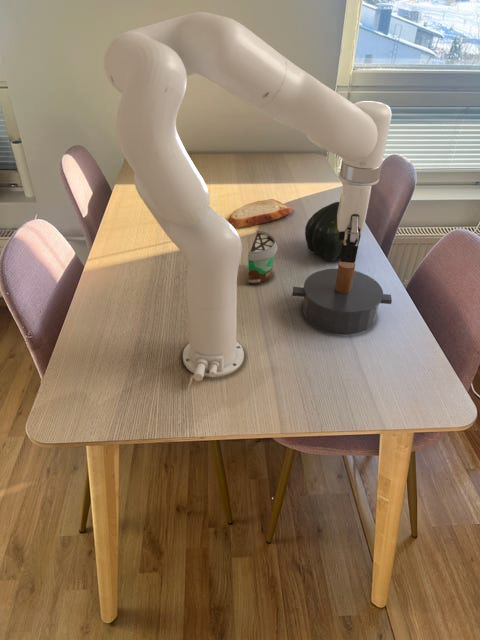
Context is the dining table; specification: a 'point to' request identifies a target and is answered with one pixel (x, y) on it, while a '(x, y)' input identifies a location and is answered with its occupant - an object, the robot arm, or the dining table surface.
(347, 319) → the pot
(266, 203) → the bread slice
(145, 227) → the dining table surface
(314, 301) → the lid
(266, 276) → the food container
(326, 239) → the squash
